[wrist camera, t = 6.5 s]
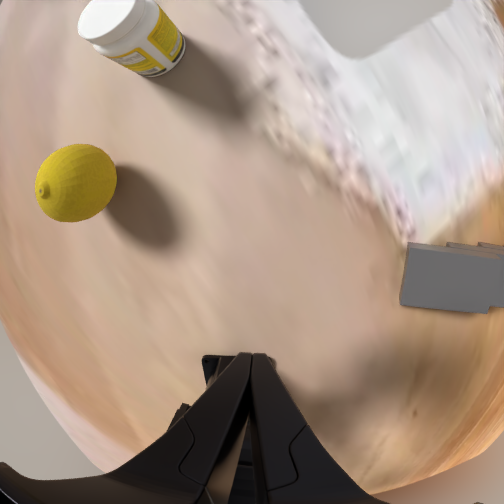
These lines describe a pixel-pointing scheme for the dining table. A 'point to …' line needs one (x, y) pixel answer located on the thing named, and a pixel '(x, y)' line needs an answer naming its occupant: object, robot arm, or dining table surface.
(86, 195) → the lemon
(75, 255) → the dining table surface
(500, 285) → the domino
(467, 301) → the domino
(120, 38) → the supplement bottle
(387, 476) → the dining table surface
